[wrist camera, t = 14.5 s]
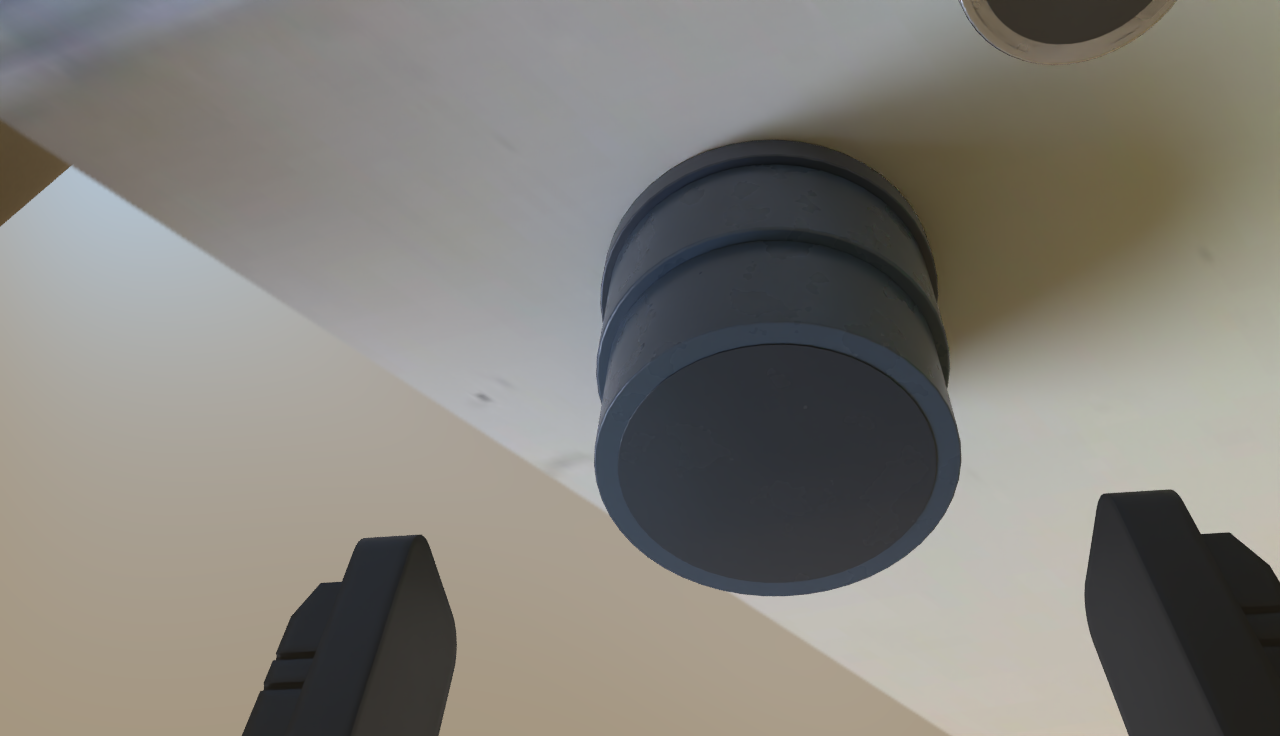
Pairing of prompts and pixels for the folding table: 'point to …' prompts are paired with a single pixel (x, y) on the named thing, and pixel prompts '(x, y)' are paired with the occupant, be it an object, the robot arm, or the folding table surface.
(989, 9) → the silver cup
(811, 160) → the grey stepped cylinder
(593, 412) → the folding table surface
